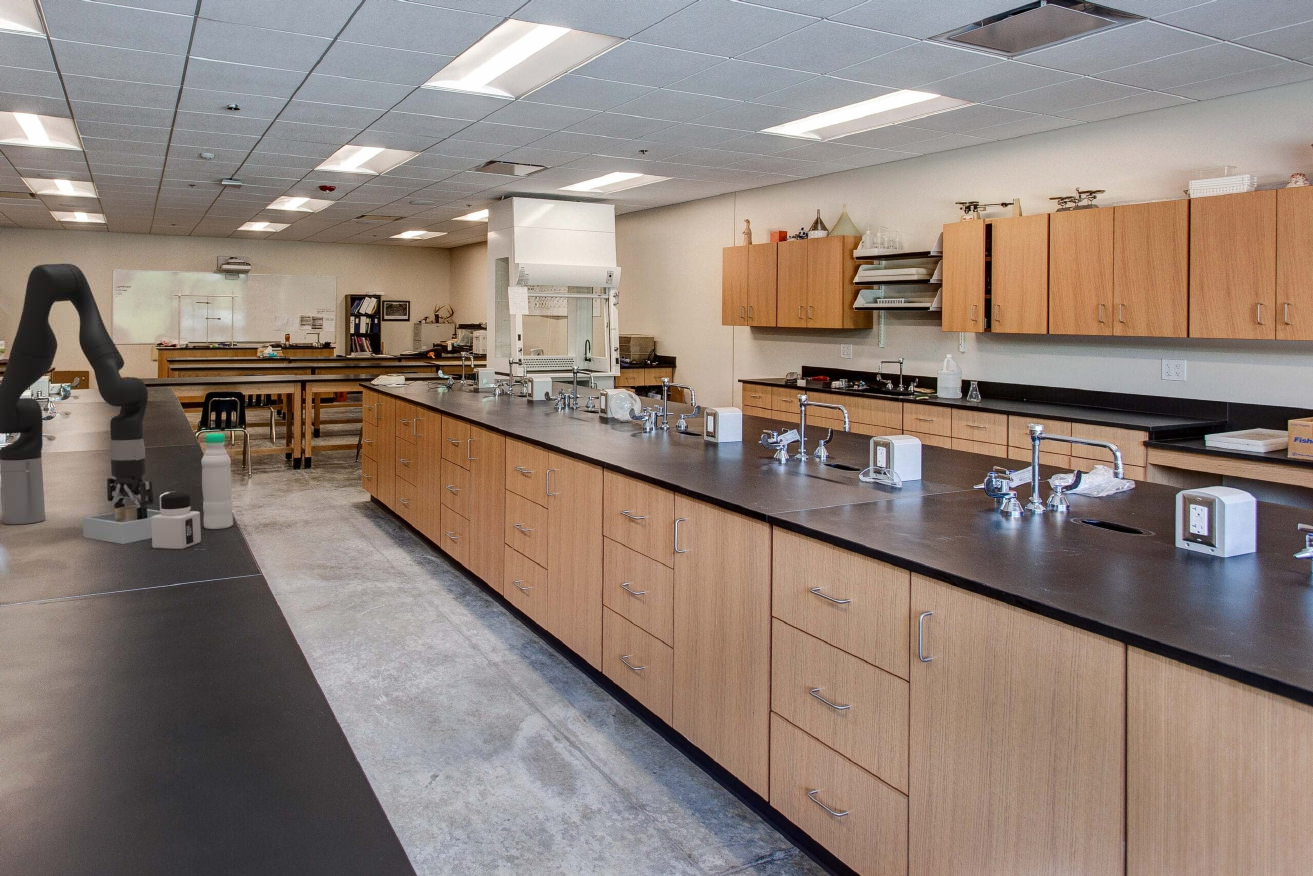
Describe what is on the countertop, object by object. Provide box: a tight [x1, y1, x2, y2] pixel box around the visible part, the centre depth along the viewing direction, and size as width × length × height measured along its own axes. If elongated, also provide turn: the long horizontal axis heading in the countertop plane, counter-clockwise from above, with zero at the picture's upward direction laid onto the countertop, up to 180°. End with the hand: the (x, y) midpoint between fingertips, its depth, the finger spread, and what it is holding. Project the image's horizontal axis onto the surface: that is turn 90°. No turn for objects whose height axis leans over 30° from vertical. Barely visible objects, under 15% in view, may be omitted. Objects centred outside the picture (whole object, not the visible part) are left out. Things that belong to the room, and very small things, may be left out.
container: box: [151, 490, 202, 550], centre depth 216 cm, size 8×8×13 cm
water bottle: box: [200, 432, 234, 530], centre depth 236 cm, size 7×7×25 cm
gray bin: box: [82, 508, 162, 545], centre depth 227 cm, size 15×15×5 cm
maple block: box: [114, 504, 138, 523], centre depth 226 cm, size 5×5×6 cm
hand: (131, 520), depth 226 cm, fingers open, 8 cm apart
